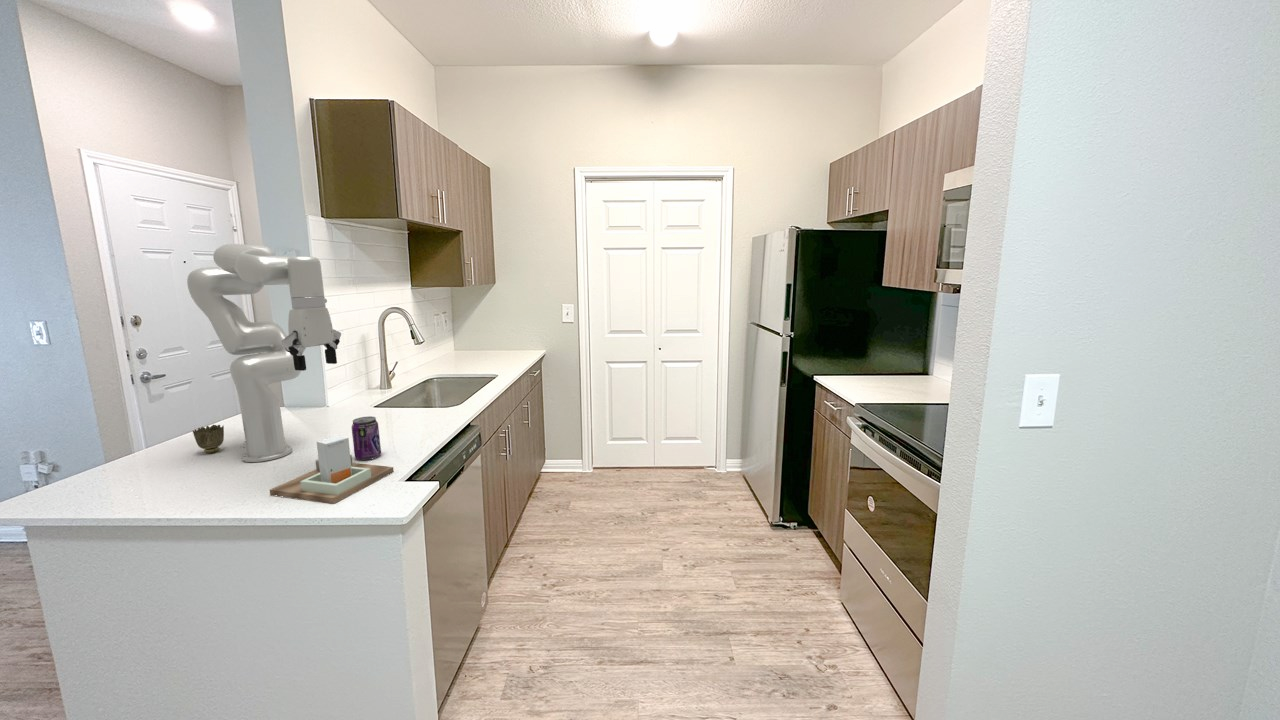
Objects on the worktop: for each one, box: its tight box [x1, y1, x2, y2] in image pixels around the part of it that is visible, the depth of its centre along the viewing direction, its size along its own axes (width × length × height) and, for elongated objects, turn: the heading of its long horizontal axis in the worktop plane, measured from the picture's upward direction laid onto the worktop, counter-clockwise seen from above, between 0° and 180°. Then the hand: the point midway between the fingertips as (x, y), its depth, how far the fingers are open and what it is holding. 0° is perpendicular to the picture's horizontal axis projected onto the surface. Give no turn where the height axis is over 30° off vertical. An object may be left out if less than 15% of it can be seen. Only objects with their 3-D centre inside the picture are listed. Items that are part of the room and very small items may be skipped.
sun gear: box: [314, 454, 353, 472], centre depth 140 cm, size 9×9×4 cm
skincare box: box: [316, 434, 352, 484], centre depth 129 cm, size 6×4×12 cm
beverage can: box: [351, 416, 382, 461], centre depth 151 cm, size 7×7×12 cm
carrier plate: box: [269, 462, 395, 505], centre depth 133 cm, size 20×20×2 cm
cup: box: [192, 424, 225, 454], centre depth 157 cm, size 8×7×8 cm
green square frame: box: [300, 467, 371, 495], centre depth 129 cm, size 11×11×2 cm
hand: (316, 366), depth 136 cm, fingers open, 9 cm apart
